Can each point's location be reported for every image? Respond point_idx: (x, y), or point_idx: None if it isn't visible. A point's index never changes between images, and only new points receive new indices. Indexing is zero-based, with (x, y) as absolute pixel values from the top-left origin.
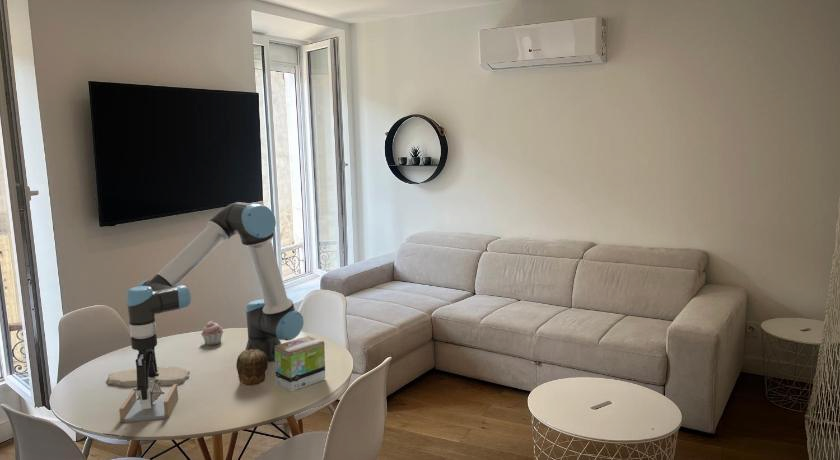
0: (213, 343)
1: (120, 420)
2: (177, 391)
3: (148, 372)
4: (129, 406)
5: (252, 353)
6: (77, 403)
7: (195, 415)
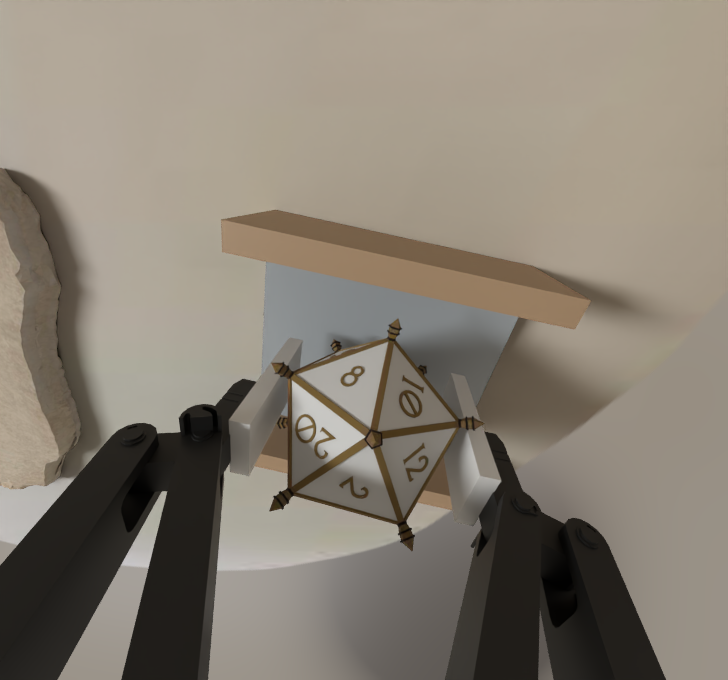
0: None
1: None
2: (254, 214)
3: (219, 520)
4: None
5: None
6: None
7: (614, 74)
